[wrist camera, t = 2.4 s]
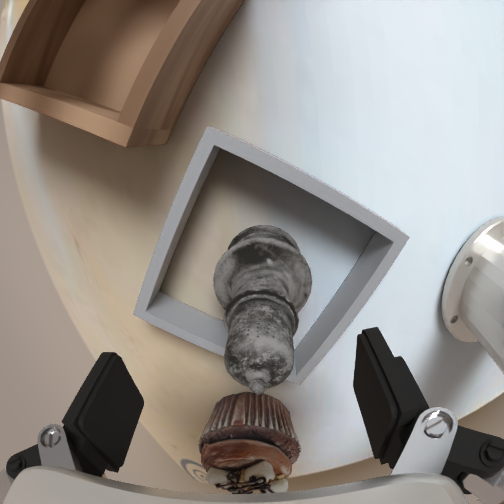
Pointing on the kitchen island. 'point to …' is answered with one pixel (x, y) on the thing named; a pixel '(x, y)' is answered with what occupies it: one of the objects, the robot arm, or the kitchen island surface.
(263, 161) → the grey frame
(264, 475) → the cupcake
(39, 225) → the kitchen island surface
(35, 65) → the walnut bin
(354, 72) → the kitchen island surface
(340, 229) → the kitchen island surface
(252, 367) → the grey chess piece
